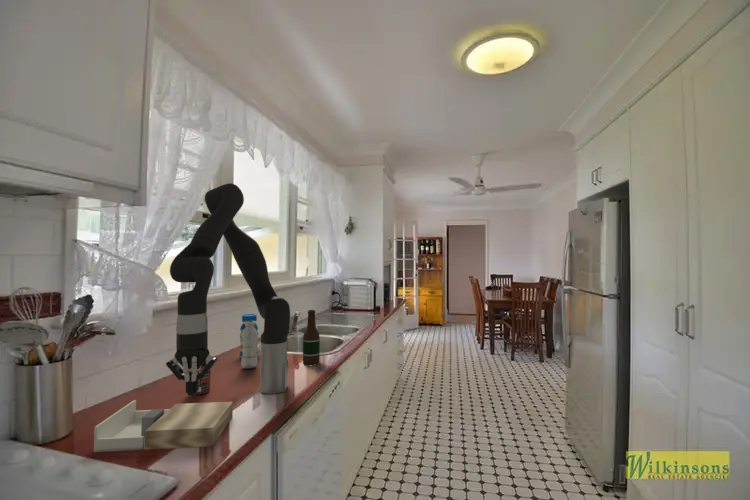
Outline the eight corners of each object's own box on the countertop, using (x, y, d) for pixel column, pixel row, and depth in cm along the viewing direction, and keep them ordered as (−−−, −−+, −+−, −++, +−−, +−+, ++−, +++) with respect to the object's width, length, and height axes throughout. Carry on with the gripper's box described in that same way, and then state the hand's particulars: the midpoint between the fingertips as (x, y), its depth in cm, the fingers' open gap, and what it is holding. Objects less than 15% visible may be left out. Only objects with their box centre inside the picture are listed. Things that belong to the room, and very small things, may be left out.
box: (173, 419, 99) (174, 398, 100) (142, 449, 84) (143, 424, 84) (133, 421, 98) (133, 400, 98) (93, 452, 82) (94, 426, 83)
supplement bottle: (202, 396, 117) (203, 362, 117) (187, 394, 118) (187, 361, 118) (213, 389, 123) (214, 357, 123) (199, 388, 124) (200, 356, 124)
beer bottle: (305, 360, 158) (306, 308, 159) (321, 361, 157) (322, 309, 158) (299, 365, 151) (300, 311, 151) (316, 366, 150) (317, 311, 150)
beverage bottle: (259, 356, 164) (260, 315, 165) (241, 359, 160) (242, 316, 160) (255, 352, 171) (256, 312, 172) (237, 355, 167) (238, 314, 167)
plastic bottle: (260, 367, 148) (261, 321, 149) (247, 371, 143) (248, 323, 143) (250, 364, 152) (251, 319, 152) (237, 368, 146) (238, 321, 147)
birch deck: (232, 416, 101) (232, 401, 101) (212, 446, 85) (213, 427, 85) (175, 419, 100) (175, 403, 100) (144, 449, 84) (145, 430, 84)
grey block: (163, 408, 94) (152, 409, 94) (153, 417, 89) (141, 417, 89) (163, 427, 94) (151, 427, 93) (153, 436, 89) (141, 437, 88)
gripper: (222, 326, 97) (222, 387, 97) (172, 328, 96) (172, 390, 95) (213, 332, 90) (213, 398, 90) (159, 333, 88) (159, 401, 88)
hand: (192, 394), depth 92 cm, fingers closed
